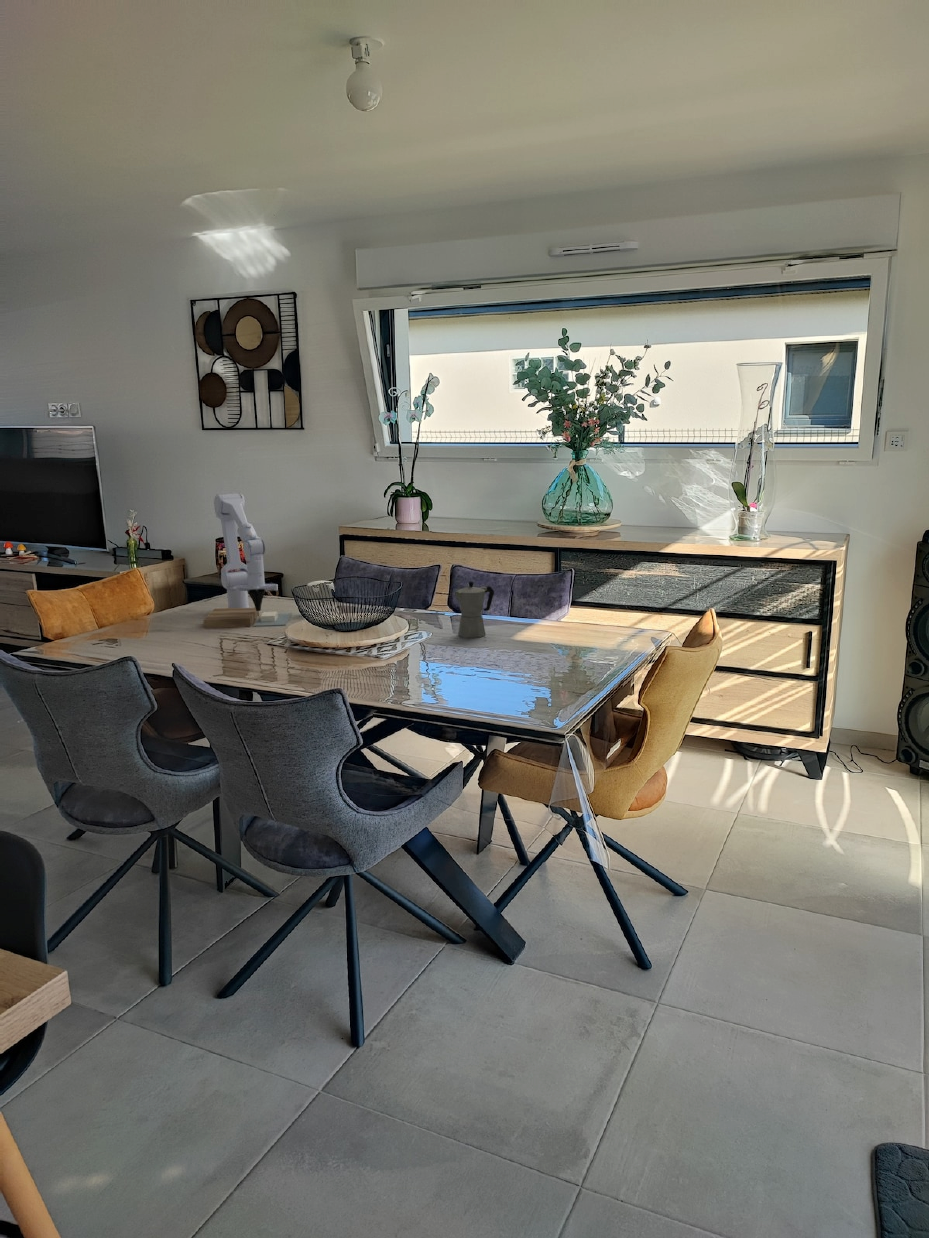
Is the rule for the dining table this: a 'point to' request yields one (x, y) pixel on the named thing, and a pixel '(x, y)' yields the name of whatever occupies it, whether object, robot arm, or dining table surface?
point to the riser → (231, 617)
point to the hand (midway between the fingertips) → (258, 610)
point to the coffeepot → (472, 610)
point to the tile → (269, 616)
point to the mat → (279, 621)
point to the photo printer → (319, 583)
